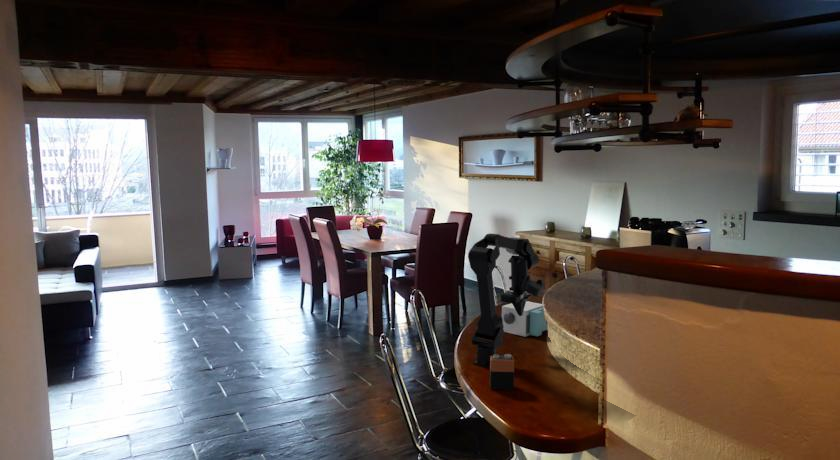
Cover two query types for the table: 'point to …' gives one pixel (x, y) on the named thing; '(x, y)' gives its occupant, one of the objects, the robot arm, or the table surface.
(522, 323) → the camera body
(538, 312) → the side door
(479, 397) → the table surface
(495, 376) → the battery
